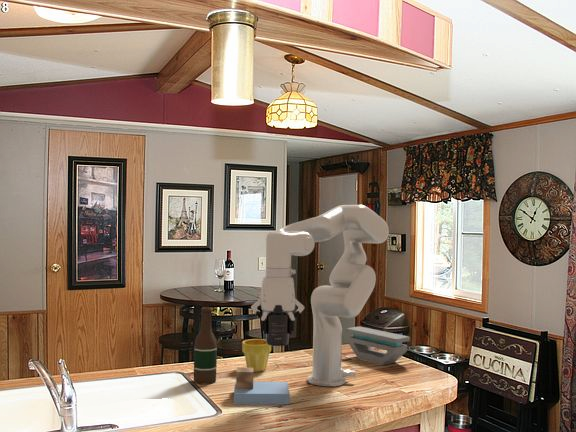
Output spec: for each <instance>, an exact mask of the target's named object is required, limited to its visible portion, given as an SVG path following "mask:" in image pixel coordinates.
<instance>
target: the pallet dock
mask: <svg viewBox="0 0 576 432" xmlns="http://www.w3.org/2000/svg"><path fill="white" fill-rule="evenodd" d="M290 395H291V393H290V389H289V385H288V381H253V389H236V381H234V390H233V405H290V401H291V400H290V399H291V397H290Z"/></svg>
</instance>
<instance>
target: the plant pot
mask: <svg viewBox="0 0 576 432" xmlns="http://www.w3.org/2000/svg"><path fill="white" fill-rule="evenodd" d="M241 345H242V346H241V347H242V349H241V351H242V353H243V354H244V358H245V363H246V368H253V371H254V372H258V373H259V372H264V371H266V369H267V365H268V360H269V356H270V353H271V352H272V346H271V345H268V344H267V343H266V338H265V339H264V338H251V339H245V340H243V341H242V344H241Z"/></svg>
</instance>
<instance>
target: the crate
mask: <svg viewBox="0 0 576 432" xmlns="http://www.w3.org/2000/svg"><path fill="white" fill-rule="evenodd" d="M254 372H255V371H253V368H247V367H236V376H235V378H236V379H235V380H236V381H235V382H236V389H253V382H254V375H255V374H254Z"/></svg>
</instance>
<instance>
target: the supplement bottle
mask: <svg viewBox="0 0 576 432" xmlns="http://www.w3.org/2000/svg"><path fill="white" fill-rule="evenodd" d="M289 317H290V316H289V314H288V312H283V309H282V305H275V307H274V310H273V312H268V314H267V316H266V321H267V334H265V340H266V343H267V344H268V345H271V347H283V346H288V344H289V340H290V334H289Z"/></svg>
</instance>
